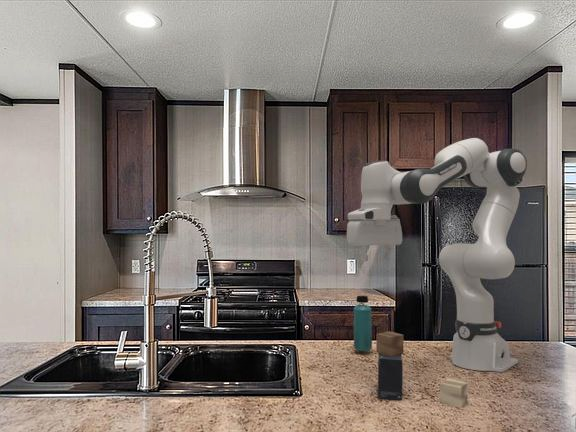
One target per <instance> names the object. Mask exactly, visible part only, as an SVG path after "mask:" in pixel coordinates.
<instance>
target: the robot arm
mask: <svg viewBox="0 0 576 432" xmlns="http://www.w3.org/2000/svg"><path fill="white" fill-rule="evenodd" d="M527 162H528V160H527V159H526V155H524V153H523V152H522V151H521V150H519V149H518V148H504V149H502V150H497V151H493V152H489V148H488V145H487V144H486V142H484V140H482V139H481V138H479V137H472V138H467V139H463V140H459V141H457V142H455V143H452V144H449V145H448V146H446V147H444V148H443V149H441V150H440V151H439V152H437V153H436V155H435V158H434V166H433V167H431V168H417V169H413V170H410V171H404V172H401V171H399V170H397V169H396V168H393V166H391V165H390V163H389V161H387V160H385V159H383V160H375V161H371V162H367V163H365V164H364V165H363V167H362V171H361V176H360V192H361V202H360V208H359V209H358V208H357V209H356V210H353V211H351V212H349V213H348V214H347V220H349V221H348V222H347V227H346V242H347V243H348V245H349V246H354V247H356V246H357V248H356V250H357V251H358V254H359V257H360V261H361V262H368V261H369V255H368V254H366V249H367V248H366V247H367V246H384V247H385V252H384V253H383V254H382V260H383V261H391V255H392V252H393V251H394V246H401V244H402V243H403V232H402V231H403V230H402V225H401V221H400V220H401V219H400V218H399V217H398V215H396V214H393V215H391V212H392V207H391V205H410V204H417V205H419V204H420V205H421V204H422V205H423V204H427V203H428V202H430V201H431V200H432V199H433V198H434V197H435V196H436V194H437V193H438V191H439V190H440V189H442V188H444V187H445V186H446V185H448V184H449V183H451V182H453V181H454V180H457V179H459V178H462V177H463V179H464V181H465V182H466V184H467V185H468V186H470V187H471V188H475V189H481V188H486V192H485V193H486V194H485V197H484V198H483V200H482V202H481V203H480V206H479V208H478V211H477V212H476V215H475V216H474V219H473V221H472V225H471V226H472V230H473V233H474V234H475V235H477V237H478V238H477V241H475V242H474V243H468V242H467V243H462V242H461V243H460V242H457V243H452V244H447V245H445V246H443V248H442V249H441V251H440V253H439V256H438V262H439V263H438V264H439V266H440V268H441V269H442V270H443V271H444V272H445V273H446V275H447V276H448V277H449V279H450V281H451V284H452V286H453V289H454V292H455V299H456V319H455V324H454V325H455V331H456V332H455V333H454V335H453V338H452V339H453V340H452V352H451V354H449V359H450V360H451V362H452V363H451V364H453V365H454V366H457V367H459V368H462V369H467V370H472V371H481V372H483V371H484V372H499V373H503V372H506V371H507V370H509V369H510V368H512V367H514V366H515V365H517V364H518V363H519V360H518V359H517V358H515V357H512V356H511V351H510V350H511V348H510V345H509V343H508V342H507V341H506V340H505V339H504V338H502V336H501V335H500V334H499V333H498V329H501V328H502V322H501V321H497V320H494V319H495V318H494V317H495V315H494V313H495V312H494V311H495V310H494V307H495V306H494V304H495V303H494V297H493V296H492V294H491V293H490V292H489V291H487V290H486V288H484V285H483V283H482V282H481V279H483V280H499V279H505V278H508V277H509V276H510V275H512V273H513V271H514V269H515V265H516V261H515V256H514V254H513V252H512V251H511V249H510V248H509V247H508V245H507V236H508V232H509V231H510V228H511V225H512V222H513V220H514V218H515V215H516V212H517V211H518V207H519V201H520V197H521V196H520V195H521V194H520V191H519V189H518V188H517V186H519V185H520V184H521V183H522V181H523V177H524V176H525V174H526V170H527V167H528V164H527ZM497 328H498V329H497Z"/></svg>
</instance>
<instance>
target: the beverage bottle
mask: <svg viewBox="0 0 576 432" xmlns="http://www.w3.org/2000/svg"><path fill="white" fill-rule="evenodd" d="M355 301H356V303H363V304H357V305H355V306H354V307H353V348H354V349H355V350H356V351H362V352H363V351H371V350H372V347H373V334H372V333H373V330H372V329H373V328H372V327H373V326H372V324H373V322H372V307H370V305H368V304H366V303H369V297H368V295H357V296H356V300H355ZM364 303H365V304H364Z"/></svg>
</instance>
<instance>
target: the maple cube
mask: <svg viewBox="0 0 576 432" xmlns="http://www.w3.org/2000/svg"><path fill="white" fill-rule="evenodd" d="M439 385H440V388H439V389H440V391H439V392H440V397H439V398H440V399H439V400H440V403H439V404H442V405H446V404H447V405H446V406H450V405H451V407H454V406H455V408H458V407H459V408H458V409H461V408H463V407H464V406H465V405H466V404H468V403H469V402H468V401H469V400H468V396H469V395H468V392H469V391H468V382H466V381H463V380H462V381H461V380H457V379H451V378H446V379H445V380H443V381H442V382H440V384H439ZM463 405H464V406H463ZM462 406H463V407H462Z"/></svg>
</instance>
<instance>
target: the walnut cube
mask: <svg viewBox="0 0 576 432" xmlns="http://www.w3.org/2000/svg"><path fill="white" fill-rule="evenodd" d="M375 335H376V340H375V341H376V343H375V344H376V347H375V348H376V353H377V354H378V353H380V354H383V355H387V356H390V357H391V356H396V355H400V354H401V355H404V334H401V333H398V332H392V331H384V332H379V333H376V334H375Z"/></svg>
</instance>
